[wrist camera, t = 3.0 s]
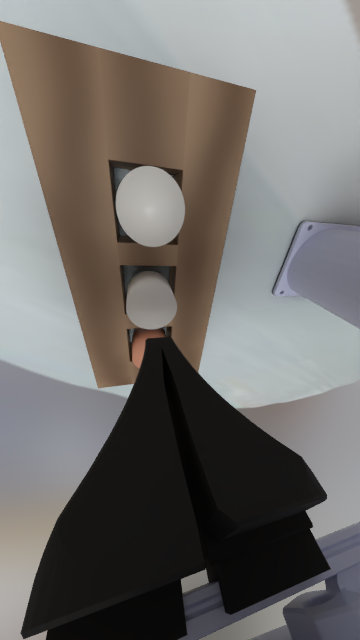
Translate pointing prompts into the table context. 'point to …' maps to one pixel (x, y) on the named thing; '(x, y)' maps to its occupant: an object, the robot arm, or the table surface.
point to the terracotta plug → (143, 342)
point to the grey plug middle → (150, 300)
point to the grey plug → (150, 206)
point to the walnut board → (130, 153)
